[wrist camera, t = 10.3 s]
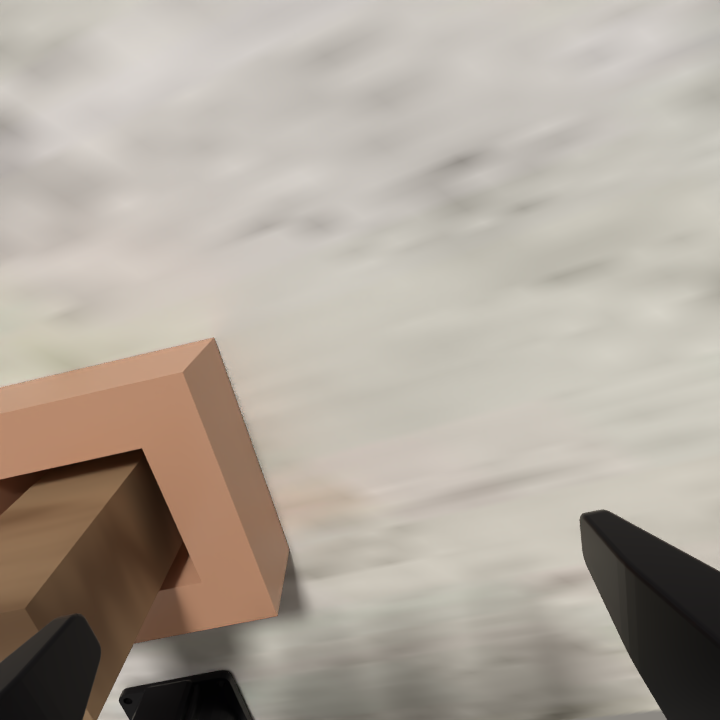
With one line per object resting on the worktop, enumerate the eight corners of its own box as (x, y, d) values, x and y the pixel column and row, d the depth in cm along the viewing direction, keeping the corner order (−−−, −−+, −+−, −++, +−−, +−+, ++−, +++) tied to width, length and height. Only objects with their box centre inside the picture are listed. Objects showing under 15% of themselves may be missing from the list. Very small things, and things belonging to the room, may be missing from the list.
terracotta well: (289, 549, 24) (277, 616, 21) (76, 591, 25) (27, 663, 21) (214, 337, 20) (182, 371, 17) (-35, 395, 21) (-119, 440, 17)
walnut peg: (199, 507, 23) (95, 723, 14) (112, 525, 24) (-48, 748, 14) (165, 427, 22) (24, 608, 12) (73, 447, 22) (-133, 638, 13)
